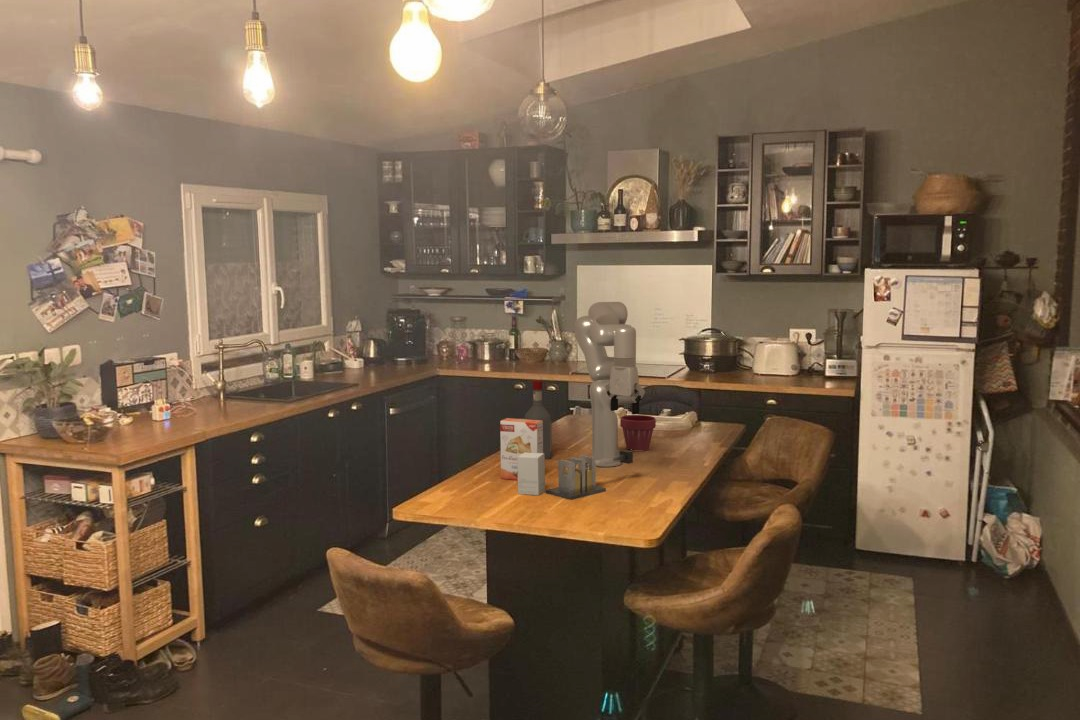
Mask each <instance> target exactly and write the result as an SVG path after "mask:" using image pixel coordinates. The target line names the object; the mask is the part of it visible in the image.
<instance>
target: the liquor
mask: <svg viewBox="0 0 1080 720" xmlns="http://www.w3.org/2000/svg"><path fill="white" fill-rule="evenodd" d="M532 392H533V393H532V396H533V397H532V404H531V405H532V406H530V408H529V410H528V411H527V412H525V415H524V417H523V419H527V420H542V421H543V453H544V457H545V459H547V460H550V459H551V457H552V455H553V449H552V448H553V440H552V439H553V438H552V435H553V434H552V426H553V425H552V421H553V420H552V419H553V418H552V415H551V413H550V412H549V411H548V410H547V408H546V407H545V406H544V404H543V380H539V379H537V380H532Z"/></svg>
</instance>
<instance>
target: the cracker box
mask: <svg viewBox="0 0 1080 720" xmlns="http://www.w3.org/2000/svg"><path fill="white" fill-rule="evenodd" d="M499 425H500V429H499V431H500V432H499V433H500V435H499V436H500V480H501V479H504V480H514V481H518V470H517V457H518V456H519V455H521V454H523V453H524V452H527V453H543V421H542V420H527V419H524V418H512V417H511V418H510V417H505V418H504V419H501V420H500V424H499Z"/></svg>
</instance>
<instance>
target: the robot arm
mask: <svg viewBox="0 0 1080 720" xmlns="http://www.w3.org/2000/svg"><path fill="white" fill-rule="evenodd" d="M628 313H629V312H628V309H627V306H626V305H625V304H624V303H623V302H621V301H599V302H594V303H593V304H592V305H590V307H589V308H588V313H587V314H588V315H584V316H581V317H578V318H577V319H576V320H575V323H574V335H575V339H576V341H577V344H578V346H579V348H580V349H581V351H582V353H583V355H584V359H585V363H586V367H587V371H588V372H587V373H588V376H589V377H590V379H591V381H593V382H591V384H590V386H589V396H590V397H589V398H590V404H591V420H592V421H591V423H592V424H591V425H592V427H591V431H592V432H591V437H592V439H591V440H592V441H591V442H592V443H591V444H592V448H591V449H592V450H591V451H592V452H591V453H592V454H591V457H595V458H596V460H600V459H605V458H609V457H614V456H618V455H619V451H620V450H619V449H618V448H619V442H618V440H619V439H618V438H619V433H618V432H619V430H618V429H619V425H618V424H619V421H618V420H619V418H618V414H617V413H616V411H618V410H619V406H620V405H621V406H623V405H631V415H640V414H639V413H640V403H641V402H642V400H643V399H644V395H645V393H646V390H645V389H644V388H642V387H641V386H640V380H639V379H640V378H639V371H638V367H637V331H636V328H635V327H634V326H632V325H631V324H626V322H627V320H628V315H629V314H628ZM605 347H613V356H609V355H608V354H607V349H606V348H605ZM622 464H623V463H622V462H619V461H618V462H614V463H610V464H605V465H601V466H598V468H599V467H600V468H601V467H603V468H605V467H607V468H609V467H617V466H620V465H622Z"/></svg>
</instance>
